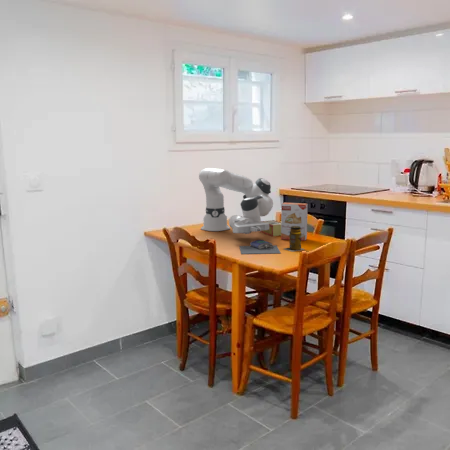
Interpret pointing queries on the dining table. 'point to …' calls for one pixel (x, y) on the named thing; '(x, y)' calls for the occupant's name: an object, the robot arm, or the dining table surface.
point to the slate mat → (259, 250)
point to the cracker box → (293, 219)
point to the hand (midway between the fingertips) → (258, 229)
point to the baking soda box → (273, 228)
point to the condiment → (295, 239)
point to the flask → (261, 244)
